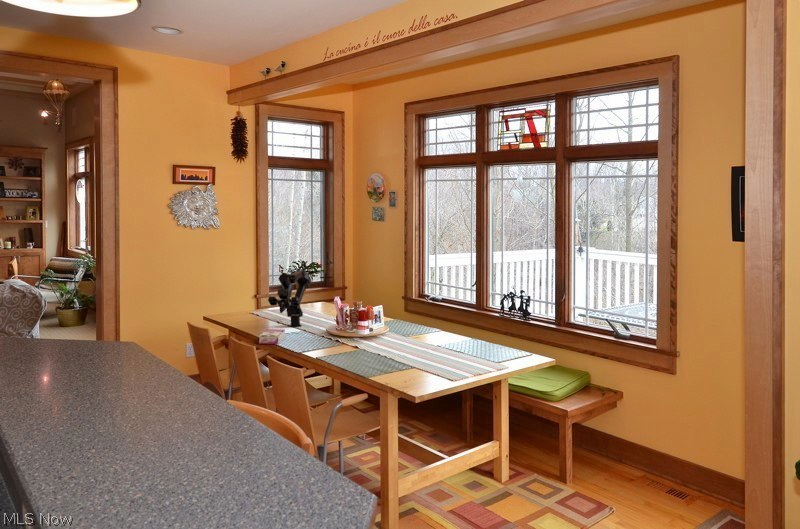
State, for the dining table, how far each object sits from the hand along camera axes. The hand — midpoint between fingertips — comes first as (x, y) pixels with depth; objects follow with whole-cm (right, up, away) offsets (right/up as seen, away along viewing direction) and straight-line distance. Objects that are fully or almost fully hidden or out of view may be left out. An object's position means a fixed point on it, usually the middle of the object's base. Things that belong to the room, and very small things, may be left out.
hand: (280, 312), depth 384 cm
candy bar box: (-1, -12, -7) cm, 14 cm away
